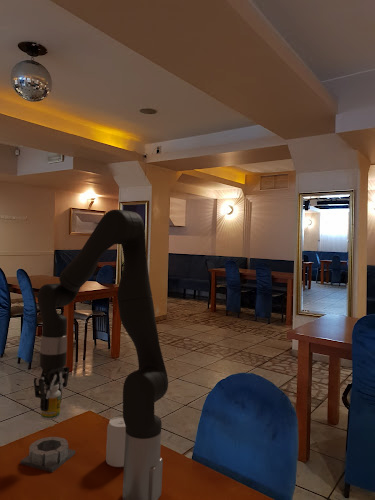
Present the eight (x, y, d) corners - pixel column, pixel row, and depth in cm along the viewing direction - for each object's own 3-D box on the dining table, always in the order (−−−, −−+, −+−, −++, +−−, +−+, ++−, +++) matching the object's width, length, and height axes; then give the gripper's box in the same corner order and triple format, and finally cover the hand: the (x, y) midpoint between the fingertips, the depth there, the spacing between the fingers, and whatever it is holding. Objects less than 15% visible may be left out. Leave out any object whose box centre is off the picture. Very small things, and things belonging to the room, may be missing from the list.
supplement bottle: (42, 413, 121) (43, 381, 121) (60, 412, 122) (62, 381, 122) (39, 420, 115) (41, 388, 115) (59, 419, 117) (60, 387, 116)
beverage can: (100, 463, 117) (101, 423, 117) (117, 451, 124) (118, 413, 124) (122, 472, 114) (124, 430, 113) (138, 459, 121) (140, 419, 121)
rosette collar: (75, 453, 122) (75, 440, 122) (52, 472, 112) (52, 458, 112) (45, 446, 126) (45, 434, 126) (20, 464, 115) (21, 450, 115)
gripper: (48, 357, 110) (45, 418, 111) (78, 346, 124) (75, 400, 124) (26, 354, 113) (23, 413, 113) (58, 343, 126) (55, 396, 127)
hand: (51, 406), depth 119 cm, fingers closed on supplement bottle, 5 cm apart
